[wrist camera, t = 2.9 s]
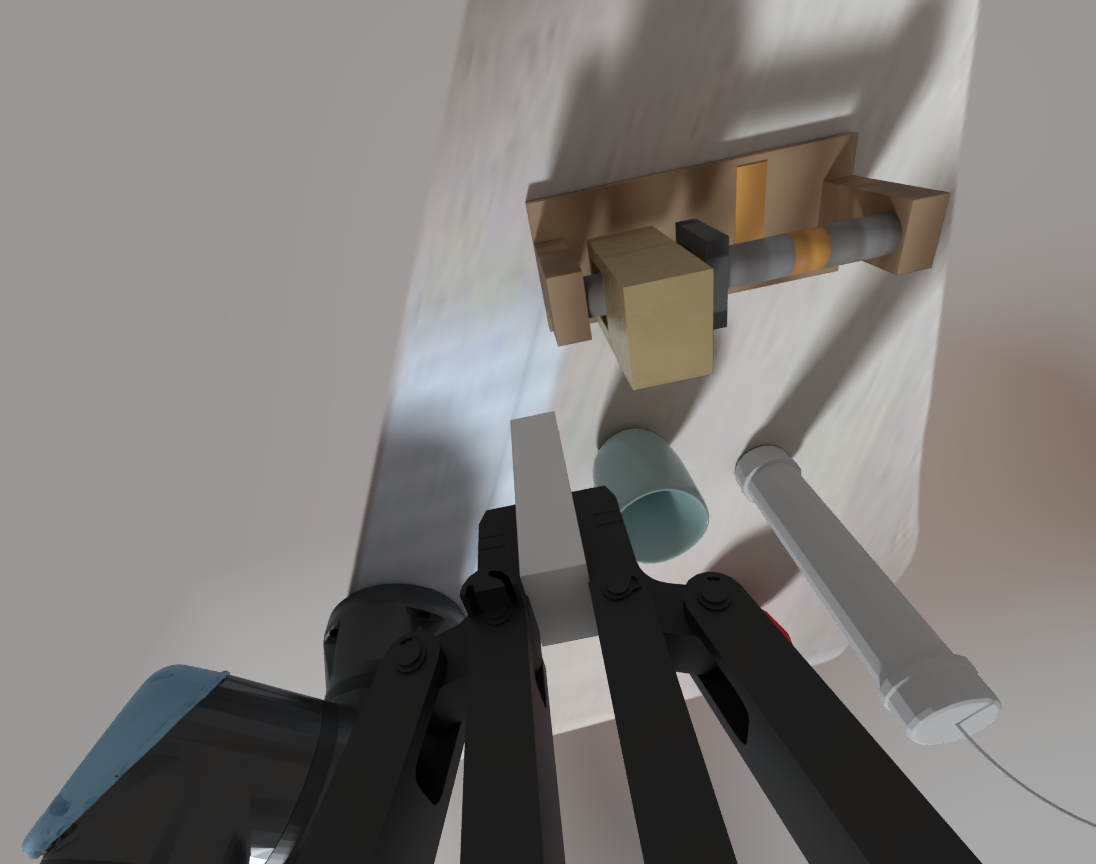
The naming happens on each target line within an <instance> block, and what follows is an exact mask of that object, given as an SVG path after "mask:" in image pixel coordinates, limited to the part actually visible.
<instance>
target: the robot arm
mask: <svg viewBox="0 0 1096 864" xmlns="http://www.w3.org/2000/svg"><path fill="white" fill-rule="evenodd" d="M510 423H511V439H512V455H513V471H514V487H515V503H516V505H511V506H506V507H501V508H496V509H491V510H486V512H485V514H484V516H483V518H482V520H481V521H480V523H479V542H478V552H479V553H478V571H476V572H475V573H474V574H472V575H471V576H470V577H469V578H468V579H467V580H466V582H465V583H464V584H463V586H462V589H461V592H460V597H461V600H462V602H463V604H464V606H465V609H466V611H467V613H468V616H467V617H466V618H465V616H464V614H463V613H462V611H461V610H460V608H459V607H458V606H457V605H456V604H455V603H454V602H452V601H451V600H450V599H448V598H447V597H445V596H443V595H441V594H439V593H437V592H434V591H432V590H429V589H425V588H421V587H416V586H410V585H383V586H376V587H372V588H368V589H364V590H361V591H359V592H356V593H354V594H352V595H350V596H349V597H347V598H345V599H344V600H343V601H341V602H340V603H339V604H338V605H337V606H336V607H335V609H334V610H333V612H332V613H331V616H330V619H329V621H328V625H327V628H326V631H325V635H324V642H323V646H324V662H325V678H326V695H325V699H324V700H321V699H317V698H314V697H310V696H306V695H303V694H299V693H295V692H292V691H288V690H284V689H281V688H277V687H273V686H269V685H265V684H262V683H258V682H254V681H251V680H247V679H243V678H240V677H236V676H232V675H229V674H230V672H228V671H222V672H217V671H212V670H207V669H202V668H197V667H193V666H188V665H180V664H179V665H171V666H167V667H164V668H162V669H160V670H158V671H157V672H155V673H154V674H153V675H151V676H150V677H149V678H148V679H147V680H146V681H145V682H144V684H142V686H141V687H140V688H139V689H138V691H137V692H136V693H135V694H134V695H133V697H132V698H131V699H130V700H129V702H128V703H127V704H126V705H125V707H124V708H123V709H122V711H121V712H120V713H119V714H118V716H117V717H116V718H115V720H114V721H113V722H112V723H111V725H110V726H109V727H108V729H107V730H106V731H105V733H104V734H103V735H102V736H101V738H100V739H99V740H98V741H97V743H96V744H95V745H94V747H93V748H92V749H91V751H90V752H89V753H88V755H87V756H86V757H85V759H84V760H83V761H82V762H81V764H80V765H79V767H78V768H77V769H76V770H75V772H74V773H73V774H72V776H71V777H70V778H69V780H68V781H67V782H66V784H65V785H64V787H63V788H62V789H61V791H60V793H59V794H58V795H57V796H56V797H55V799H54V800H53V801H52V803H51V804H50V806H49V807H48V808H47V810H46V811H45V812H44V814H43V815H42V816H41V817H40V818H39V820H38V821H37V822H36V824H35V825H34V827H33V828H32V829H31V831H30V832H29V833H28V835H27V836H26V838H25V839H24V841H23V844H22V849H23V851H24V852H25V853H27V854H28V855H29V857H30V859H38V858H39V857H40V855H44V856H43V858H42V861H41V863H40V864H434V861H435V857H436V853H437V849H438V845H439V841H440V837H441V834H442V829H443V825H444V821H445V817H446V814H447V810H448V806H449V801H450V797H451V794H452V789H453V786H454V781H455V778H456V774H457V770H458V766H459V762H460V758H461V754H462V750H463V746H464V742H465V750H464V777H463V804H462V829H461V855H460V864H565V854H564V844H563V835H562V825H561V816H560V805H559V795H558V785H557V775H556V765H555V756H554V747H553V735H552V726H551V716H550V706H549V696H548V686H547V676H546V668H545V665H544V661H543V658H542V652H541V643H542V646H547V645H553V644H558V643H563V642H568V641H573V640H578V639H583V638H588V637H593V636H598V635H599V639H600V644H601V649H602V654H603V659H604V664H605V669H606V674H607V679H608V684H609V689H610V694H611V699H612V704H613V709H614V714H615V719H616V724H617V729H618V734H619V739H620V744H621V749H622V754H623V759H624V764H625V769H626V774H627V779H628V784H629V789H630V793H631V799H632V803H633V809H634V814H635V819H636V824H637V829H638V833H639V838H640V844H641V849H642V853H643V859H644V864H737V861H736V858H735V854H734V851H733V848H732V845H731V842H730V839H729V836H728V833H727V830H726V827H725V823H724V820H723V818H722V814H721V811H720V808H719V805H718V802H717V799H716V796H715V793H714V789H713V787H712V783H711V780H710V777H709V774H708V771H707V768H706V765H705V762H704V759H703V755H702V752H701V749H700V746H699V743H698V740H697V737H696V734H695V731H694V728H693V724H692V721H691V718H690V715H689V712H688V709H687V706H686V703H685V700H684V697H683V694H682V690H681V687H680V684H679V681H678V678H677V675H676V672H682V673H689V674H690V675H691V677H692V678H693V680H694V682H695V683H696V685H697V686H698V688H699V690H700V691H701V693H702V694H703V696H704V697H705V699H706V701H707V702H708V704H709V706H710V707H711V709H712V710H713V712H714V713H715V715H716V716H717V718H718V720H719V721H720V723H721V725H722V726H723V728H724V729H725V731H726V733H727V734H728V736H729V737H730V739H731V740H732V742H733V744H734V745H735V747H736V748H737V750H738V752H739V753H740V754H741V756H742V758H743V759H744V761H745V763H746V764H747V766H748V767H749V769H750V771H751V772H752V774H753V775H754V777H755V779H756V780H757V782H758V783H759V785H760V786H761V788H762V790H763V791H764V793H765V794H766V796H767V798H768V799H769V801H770V802H771V804H772V806H773V807H774V809H775V810H776V812H777V814H778V815H779V817H780V818H781V820H782V821H783V823H784V825H785V826H786V828H787V829H788V831H789V833H790V834H791V836H792V837H793V839H794V840H795V842H796V844H797V845H798V847H799V848H800V850H801V851H802V853H803V855H804V856H805V858H806V860H807V861H808V863H809V864H982V863H981V862H980V860H979V859H978V858H977V857H976V856H975V855H974V854H973V852H972V851H971V850H970V849H969V848H968V847H967V846H966V844H965V843H964V842H963V841H962V840H961V839H960V837H959V836H958V835H957V834H956V833H955V832H954V831H953V829H952V828H951V827H950V826H949V825H948V824H947V822H945V820H944V819H943V818H942V817H941V816H940V815H939V813H938V812H937V811H936V810H935V809H934V808H933V806H932V805H931V804H930V803H929V802H928V801H927V799H926V798H925V797H924V796H923V795H922V794H921V793H920V791H919V790H918V789H917V788H916V787H915V786H914V784H913V783H912V782H911V781H910V780H909V779H908V778H907V776H906V775H905V774H904V773H903V772H902V771H901V769H900V768H899V767H898V766H897V765H896V764H895V763H894V761H893V760H892V759H891V758H890V757H889V756H888V754H887V753H886V752H885V751H884V750H883V749H882V748H881V746H880V745H879V744H878V743H877V742H876V741H875V740H874V739H873V737H872V736H871V735H870V734H869V733H868V731H867V730H866V729H865V728H864V727H863V726H862V725H861V723H860V722H859V721H858V720H857V719H856V718H855V716H853V714H852V713H851V712H850V711H849V710H848V708H847V707H846V706H845V705H844V704H843V703H842V701H841V700H840V699H839V698H838V697H837V696H836V695H835V693H834V692H833V691H832V690H831V689H830V688H829V687H828V685H827V684H826V683H825V682H824V681H823V680H822V678H821V677H820V676H819V675H818V674H817V673H816V671H815V670H814V669H813V668H812V667H811V666H810V665H809V663H808V662H807V661H806V660H805V659H804V658H803V656H802V655H801V654H800V653H799V652H798V651H797V650H796V648H795V647H794V646H793V645H792V644H791V643H790V641H789V640H788V639H787V638H786V637H785V636H784V635H783V633H782V632H781V631H780V630H779V629H778V628H777V627H776V625H775V624H774V623H773V622H772V621H771V620H770V618H769V617H768V616H767V615H766V614H765V613H764V612H763V610H762V609H761V608H760V607H759V606H758V605H757V603H756V602H755V601H754V600H753V599H752V598H751V597H750V595H749V594H748V593H747V592H746V591H745V590H744V588H743V587H742V586H741V585H740V584H739V583H737V582H736V581H735V580H734V579H733V578H731V577H729V576H727V575H724V574H721V573H716V572H705V573H701V574H697V575H695V576H694V577H692V578H691V579H690V580H688V582H687V584H686V585H683V584H672V583H665V582H660V581H657V580H655V579H652V578H651V577H649V576H648V575H646V574H645V573H644V572H643V571H642V570H641V569H640V567H639V565H638V563H637V561H636V558H635V555H634V552H633V548H632V545H631V542H630V539H629V536H628V533H627V530H626V527H625V523H624V521H623V517H622V514H621V512H620V508H619V505H618V502H617V498H616V496H615V495H614V494H613V493H612V492H611V491H610V490H609V489H608V488H607V487H606V486H605V485H604V486H599V487H594V488H589V489H584V490H579V491H575V492H571V489H570V484H569V479H568V474H567V469H566V465H565V460H564V455H563V450H562V445H561V441H560V436H559V431H558V426H557V421H556V417H555V412H554V411H553V412H548V413H543V414H538V415H534V416H529V417H524V418H519V419H514V420H510ZM540 640H541V641H540Z"/></svg>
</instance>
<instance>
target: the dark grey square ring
mask: <svg viewBox="0 0 1096 864" xmlns="http://www.w3.org/2000/svg"><path fill="white" fill-rule="evenodd" d="M675 229H676V243H678V244H679V245H680V246H682V247H683V248H685V249H686V250H688V251H689V252H690V253H696V254H697V255H699V259H700V260H702V261H703V262H705V263H706V264H708V265H709V266H710V267H712V268H713V330H714V329H719V328H723V327H727V300H728V260H729V236H728V235H726V234H724V233H722V232H720V231H719V230H717V229H715V228H713V227H711V226H709V225H707V224H705V223H703V222H701V221H699V220H698V219H696V218H694V219H689V220H684V221H680V222H675Z"/></svg>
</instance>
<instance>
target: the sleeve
mask: <svg viewBox="0 0 1096 864" xmlns="http://www.w3.org/2000/svg"><path fill="white" fill-rule="evenodd" d="M586 241H587V248H588V256H589V264H590V271H591V275H592V274H597V273H602V279H603V288H604V296H605V305H606V313H607V315H603V316H598V317H597V322H598V324H599V326H600V327H601V329H602V331H603V333H604V335H605V337H606V339H607V341H608V343H609V345H610V347H611V349H612V351H613V353H614V354H615V356H616V358H617V360H618V362H619V364H620V366H621V368H622V370H623V372H624V374H625V376H626V378H627V380H628V382H629V383H630V385H631V387H632V389H633V390H637V389H642V388H647V387H652V386H656V385H661V384H666V383H671V382H675V381H680V380H685V379H690V378H695V377H699V376H704V375H709V374H713V268H712V267H710V266H709V265H708V264H706V263H705V262H703V261H702V260H700V259H699V258H698V257H696V256H695V255H693V254H692V253H690V252H689V251H688V250H686V249H685V248H683V247H682V246H680V245H679V244H678V243H676V242H675V241H673V240H672V239H671V238H669V237H668V236H666V235H665V234H663V233H662V232H661V231H659V230H658V229H656V228H655V227H653V226H652V225H651V226H646V227H641V228H637V229H632V230H627V231H623V232H618V233H613V234H609V235H604V236H599V237H595V238H590V239H586Z"/></svg>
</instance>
